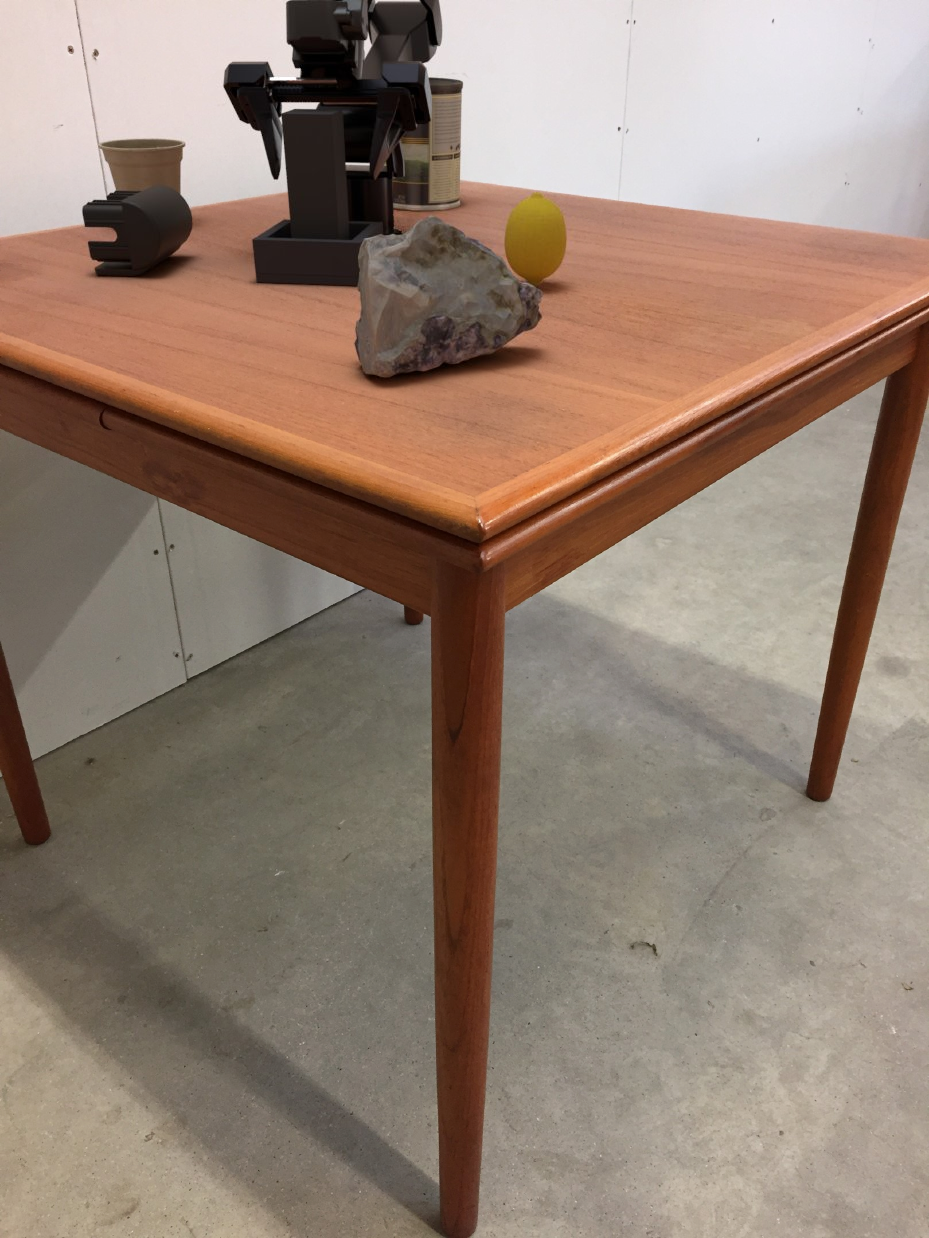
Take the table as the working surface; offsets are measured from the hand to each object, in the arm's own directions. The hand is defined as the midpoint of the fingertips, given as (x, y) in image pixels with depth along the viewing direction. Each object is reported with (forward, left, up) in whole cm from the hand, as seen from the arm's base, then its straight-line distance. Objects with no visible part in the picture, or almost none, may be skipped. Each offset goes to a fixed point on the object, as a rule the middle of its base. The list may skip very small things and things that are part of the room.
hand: (323, 177), depth 93 cm
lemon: (-11, +17, -8) cm, 22 cm away
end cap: (+14, -12, -8) cm, 20 cm away
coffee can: (-28, -25, -8) cm, 39 cm away
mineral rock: (+9, +31, -8) cm, 33 cm away
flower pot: (+5, -32, -8) cm, 33 cm away
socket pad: (+1, +1, -8) cm, 8 cm away
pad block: (+1, 0, -7) cm, 8 cm away
